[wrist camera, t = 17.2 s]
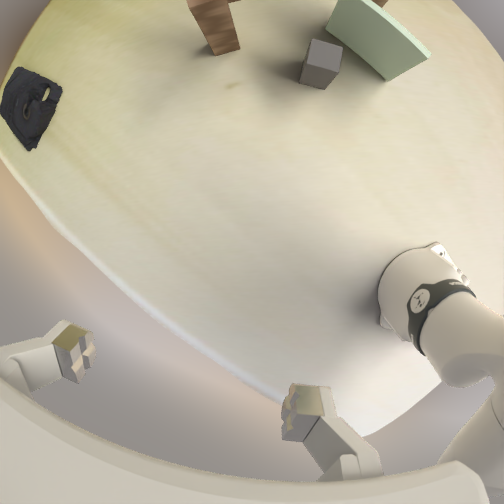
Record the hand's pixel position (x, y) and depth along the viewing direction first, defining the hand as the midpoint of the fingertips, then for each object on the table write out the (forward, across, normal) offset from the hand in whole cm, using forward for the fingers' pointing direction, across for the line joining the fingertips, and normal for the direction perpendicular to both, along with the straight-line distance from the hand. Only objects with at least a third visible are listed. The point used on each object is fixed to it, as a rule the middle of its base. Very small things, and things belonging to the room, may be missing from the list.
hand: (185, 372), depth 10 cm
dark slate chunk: (+35, +52, -16) cm, 64 cm away
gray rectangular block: (+34, -5, -23) cm, 42 cm away
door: (+34, -12, -31) cm, 47 cm away
